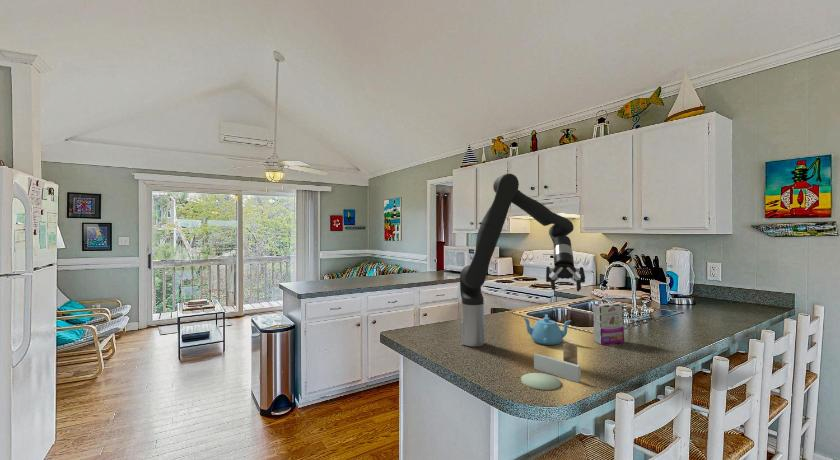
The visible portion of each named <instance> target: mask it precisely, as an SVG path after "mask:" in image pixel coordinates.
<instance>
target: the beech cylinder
mask: <svg viewBox="0 0 840 460" xmlns="http://www.w3.org/2000/svg"><path fill="white" fill-rule="evenodd" d="M562 347H563V349H562V350H563V352H562V353H563V355H562V356H563V360H562V361H566V362H569V363H573V364H576V365H579V364H578V363H579V362H578V345H577V344H575V343H570V342H567V343H563V344H562Z"/></svg>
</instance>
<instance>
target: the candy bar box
mask: <svg viewBox="0 0 840 460" xmlns="http://www.w3.org/2000/svg"><path fill="white" fill-rule="evenodd" d="M623 306H624V305H623V303H619V302H603V303H593V304H592V311H593V312H592V313H593V338H594V343H597V344H598V345H601V346H604V345H605V346H606V345H614V344H615V345H616V344H623V343H624V344H625V333H624V332H625V330H624V310H623V309H624V308H623Z"/></svg>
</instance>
